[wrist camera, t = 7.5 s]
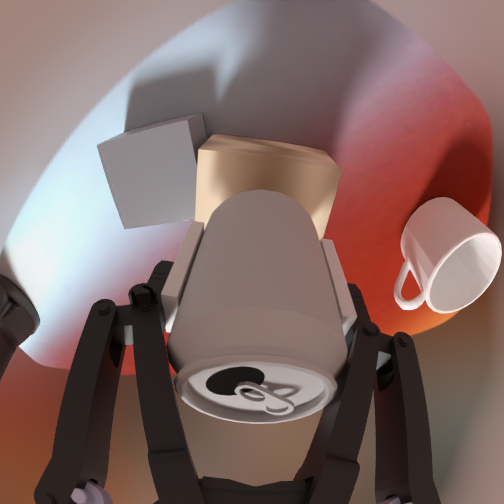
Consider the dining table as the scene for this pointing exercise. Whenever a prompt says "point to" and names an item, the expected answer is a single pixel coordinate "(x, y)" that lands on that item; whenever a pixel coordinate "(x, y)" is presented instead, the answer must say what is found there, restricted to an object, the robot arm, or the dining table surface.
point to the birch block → (265, 174)
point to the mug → (447, 256)
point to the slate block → (155, 171)
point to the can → (258, 315)
